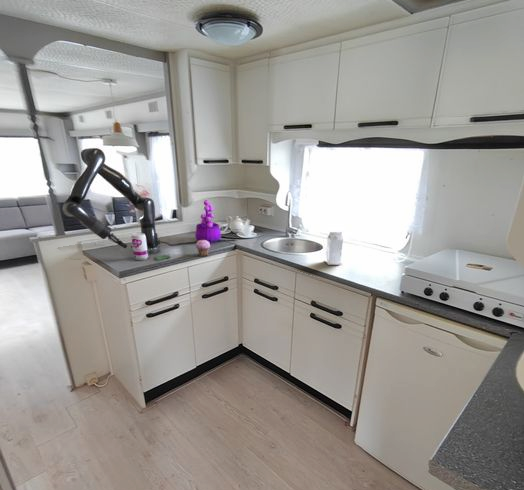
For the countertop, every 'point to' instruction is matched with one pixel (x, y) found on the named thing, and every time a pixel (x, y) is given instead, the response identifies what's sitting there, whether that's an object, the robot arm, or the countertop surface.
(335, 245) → the milk carton
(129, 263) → the countertop surface
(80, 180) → the robot arm
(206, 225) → the decorative plant
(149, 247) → the saucepan
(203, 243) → the cupcake
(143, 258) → the supplement can
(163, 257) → the green rectangular block
